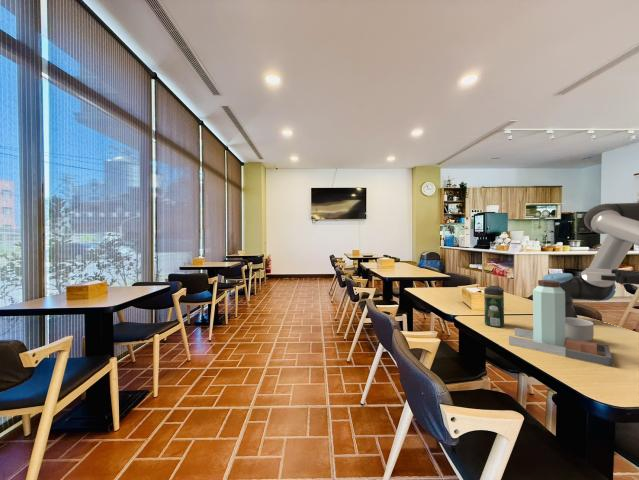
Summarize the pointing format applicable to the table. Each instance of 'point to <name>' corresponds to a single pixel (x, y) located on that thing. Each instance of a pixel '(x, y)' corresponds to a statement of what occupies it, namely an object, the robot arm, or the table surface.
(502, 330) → the table surface
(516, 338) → the slot rails
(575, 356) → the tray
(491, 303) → the coffee jar
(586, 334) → the teacup
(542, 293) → the water bottle
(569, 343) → the block
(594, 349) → the block
